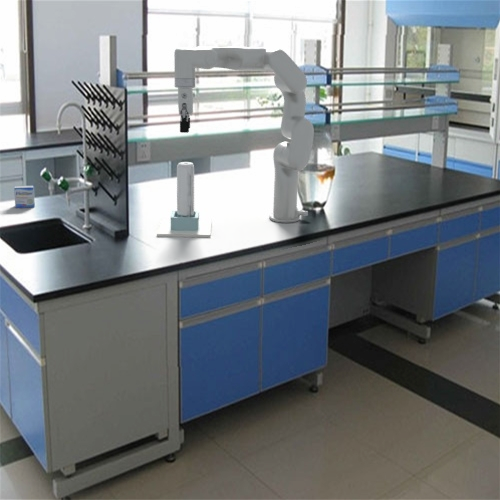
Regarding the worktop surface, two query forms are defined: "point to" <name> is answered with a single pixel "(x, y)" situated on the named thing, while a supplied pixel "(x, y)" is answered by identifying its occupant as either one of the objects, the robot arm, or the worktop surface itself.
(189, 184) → the white cylinder
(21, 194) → the medicine box
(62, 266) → the worktop surface
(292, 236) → the worktop surface
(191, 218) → the holder
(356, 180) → the worktop surface
